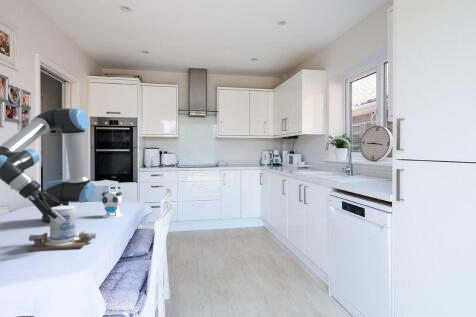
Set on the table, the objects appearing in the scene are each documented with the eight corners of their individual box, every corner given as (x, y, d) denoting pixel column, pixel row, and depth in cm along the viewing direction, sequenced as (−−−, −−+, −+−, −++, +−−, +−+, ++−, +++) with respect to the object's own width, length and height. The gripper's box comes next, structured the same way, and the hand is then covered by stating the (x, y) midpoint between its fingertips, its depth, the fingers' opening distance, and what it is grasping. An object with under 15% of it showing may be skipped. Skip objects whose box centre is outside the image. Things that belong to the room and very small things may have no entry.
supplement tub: (61, 245, 118) (61, 210, 118) (44, 242, 121) (44, 208, 121) (80, 238, 128) (80, 206, 127) (64, 236, 130) (64, 204, 130)
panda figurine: (97, 217, 173) (97, 192, 173) (109, 213, 184) (109, 190, 184) (115, 218, 171) (115, 193, 171) (126, 214, 182) (126, 191, 182)
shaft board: (40, 239, 130) (39, 229, 130) (100, 236, 134) (100, 227, 134) (19, 251, 114) (19, 240, 114) (88, 248, 119) (88, 237, 118)
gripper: (28, 188, 130) (66, 218, 135) (5, 197, 106) (52, 233, 112) (42, 176, 131) (78, 207, 137) (22, 182, 108) (67, 219, 113)
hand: (67, 218), depth 124 cm, fingers open, 13 cm apart
